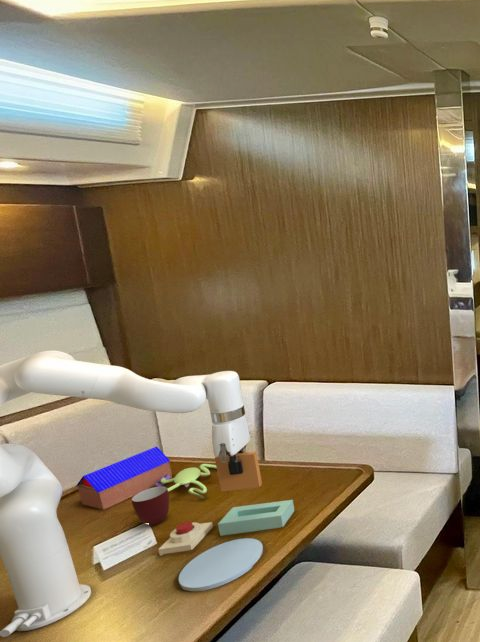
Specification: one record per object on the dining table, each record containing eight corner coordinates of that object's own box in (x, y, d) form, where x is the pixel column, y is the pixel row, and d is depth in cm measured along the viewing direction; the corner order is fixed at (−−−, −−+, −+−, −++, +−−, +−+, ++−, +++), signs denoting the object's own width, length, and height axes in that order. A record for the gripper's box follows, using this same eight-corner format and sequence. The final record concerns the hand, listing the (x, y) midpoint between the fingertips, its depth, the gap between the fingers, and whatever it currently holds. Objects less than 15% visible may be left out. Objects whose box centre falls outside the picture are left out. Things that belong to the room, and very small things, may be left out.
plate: (242, 584, 118) (241, 580, 118) (161, 597, 114) (160, 593, 114) (275, 537, 135) (274, 533, 135) (206, 547, 131) (205, 543, 131)
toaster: (283, 528, 139) (281, 515, 138) (220, 537, 136) (217, 523, 135) (294, 511, 147) (292, 499, 146) (235, 519, 143) (232, 507, 142)
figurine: (128, 521, 143) (124, 505, 142) (162, 478, 167) (159, 464, 166) (202, 504, 151) (198, 489, 150) (224, 465, 175) (222, 452, 174)
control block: (192, 551, 130) (189, 539, 129) (159, 555, 128) (156, 543, 127) (213, 528, 139) (210, 516, 139) (183, 532, 138) (180, 520, 137)
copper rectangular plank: (259, 487, 134) (253, 453, 132) (221, 492, 132) (214, 458, 130) (262, 484, 136) (256, 451, 134) (224, 489, 134) (217, 455, 132)
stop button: (188, 534, 132) (187, 528, 131) (173, 536, 131) (172, 530, 131) (196, 525, 135) (195, 520, 135) (182, 527, 134) (181, 522, 134)
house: (80, 504, 152) (71, 473, 150) (152, 472, 171) (145, 444, 168) (102, 510, 149) (94, 478, 146) (174, 477, 167) (167, 448, 165)
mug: (123, 529, 139) (116, 500, 137) (151, 512, 147) (145, 485, 145) (154, 531, 138) (147, 502, 136) (180, 514, 146) (174, 486, 144)
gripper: (228, 404, 136) (238, 459, 140) (195, 427, 121) (207, 488, 125) (257, 402, 138) (266, 456, 141) (227, 424, 123) (238, 485, 126)
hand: (238, 471), depth 133 cm, fingers closed on copper rectangular plank, 1 cm apart
